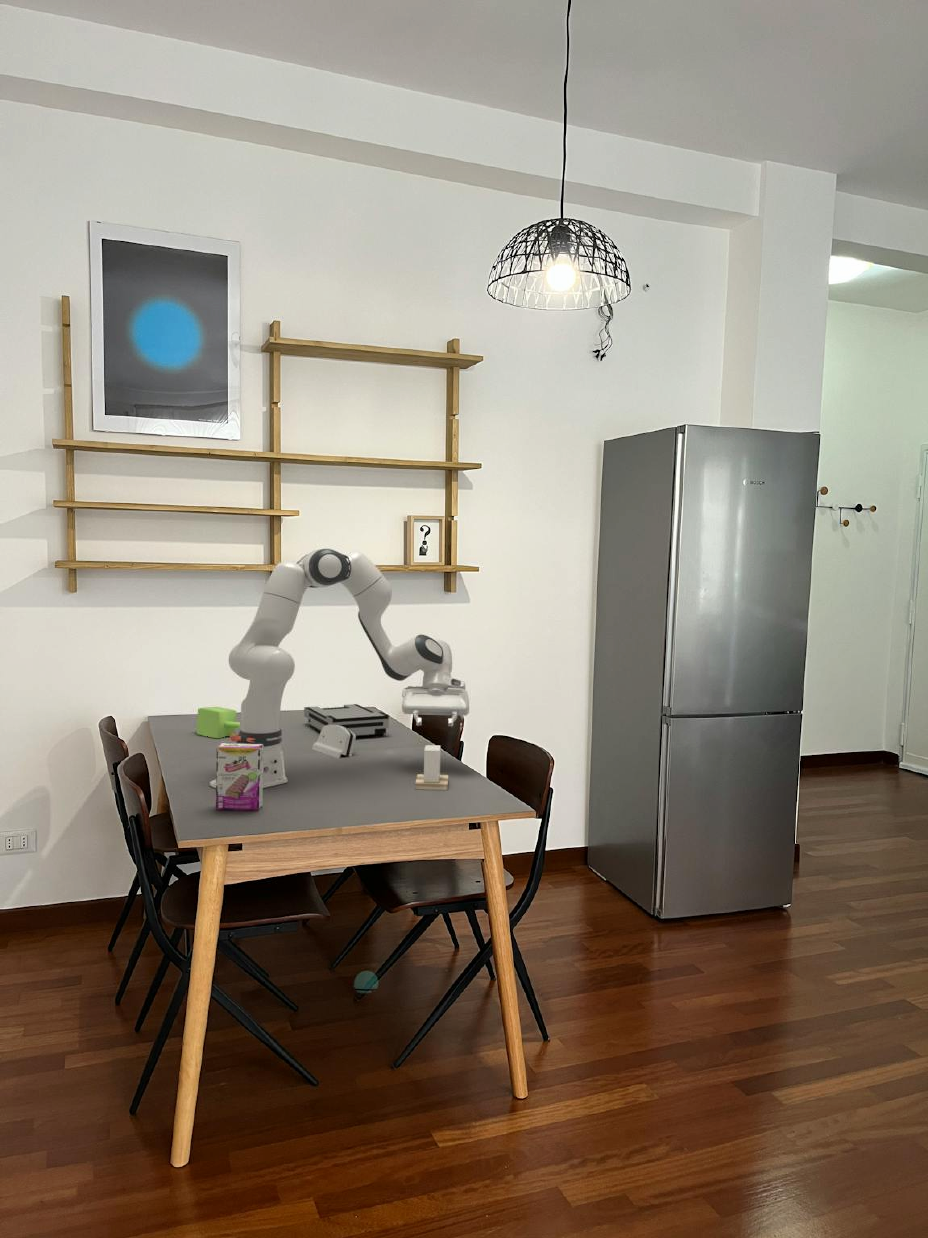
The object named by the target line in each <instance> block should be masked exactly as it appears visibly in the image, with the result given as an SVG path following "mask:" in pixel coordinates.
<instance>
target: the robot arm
mask: <svg viewBox="0 0 928 1238" xmlns="http://www.w3.org/2000/svg"><path fill="white" fill-rule="evenodd" d="M338 583H340V584H341V585H343V586H344V587H345V588H346V589H347V590H348V592H349V594H351V596H352V597H353V598H354V601H356V604H357V606H358V613H357V617H358V621H359V623H360V625H361V627H362V629H363V631H364V633H365V635H366V637H367V638H368V640H369V641H370V643H371V646H372V648H373V649H374V650H375V651H374V652H375V653H376V655H377V656H378V659H380V663H381V666H382V669H383V671H384V672H385V674H386V675H387V676H388V678H389V677H390V678H391V679H393V680H394V681H400V682H402V681H405V680H406V679H408V678H409V677H411V676H412V675H413V674H415V673H417V672H419V671H422V672H423V677H422V686H420V685H419V686H413V685H412V686H411V685H409V686H407V687H405V688H403V689H402V691H401V692H402V693H401V696H402V698H403V699H402V704H401V712H403V714H404V715H413V718H414V720H415V722H416V725H415V726H422V722H423V721H422V717H419V715H427V716H428V715H430V716H433V715H434V716H435V715H436V716H451V718H448V720H447V721H448V723H447V726H448V727H454V722H456V720H457V719H458V716H463V717H465V716H468V714H469V713H470V700H469V695H468V691H467V690H466V688H467V687H466V683H465V681H464V680H462V679H461V680H460V679H457V678H454V677H452V675H451V673H452V670H453V655H452V650H451V648H450V647H451V646H450V645H449V644H448V643H447V642H446V641H444V640H443V639H442V640H441V639H434V638H432V637H430V636H428V635H426V634H418V635H416V636H413V637H412V638H410V639H409V640H406V642H405V641H404V643H402V644H399V645H398V646H394V645H393V644H392V642H391V640H390V638H389V637H388V635H387V633H386V631H385V630H384V628H383V626H382V616H383V614H384V613H385V611H386V609H388V607H389V605H390V604H391V600H392V597H393V591H392V587H391V584H390V583H389V581H388V580H387V579H386V577H385V575H384V574H383V573H382V572H381V571H380V569H379V568H378V567H377V566H376V564H374V562H373V561H372V560H371V559H369V558H368V557H367V555H365V554H364V553H363V552H360V551H356V550H355V551H352V552H351V551H350V552H348V553H346V554H343V553H341V552H339V551H336V550H334V549H332V548H331V549H330V548H322V549H316V550H315V549H314V550H313V551H310V552H309V553H308V554H305V555H304V556H303V557H302V558H300V560H298V561H297V562H293V561H281V562H278V563H277V564H276V566H275V567H274V568H273V570H272V571H271V574H270V576H269V578H268V580H267V582H266V585H265V587H264V590H263V592H262V596H261V599H260V602H259V605H258V606H257V607H258V608H257V611H256V613H255V616H254V618H253V621H252V623H251V625H250V626H249V628H248V629H247V631H246V633H245V634H244V636H243V637H242V639H241V640H240V642H238V644H236V645H235V646H234V647H232V649H231V651H230V652H229V655H228V665H229V668H230V669H231V670H232V672H234V674H236V675H238V676H239V677H240V678H241V679H245V680H248V681H249V686H248V690H247V694H246V697H244V699H243V700H242V701H241V703H240V704H241V705H240V730H239V732H238V734H236V733H235V734H232V735H231V736H229V739H230V741H231V742H235V744H263V789H264V788H265V789H266V788H269V787H274V786H278V785H282V784H287V783H288V781H289V780H288V778H287V776H286V771H285V761H284V759H285V758H284V752H283V750H282V745H281V743H282V741H283V740H282V739H283V733H282V729H281V705H282V699H283V696H284V695H283V694H284V691H285V688H286V685H287V684H288V682H289V681H290V680H291V679H292V677H293V675H294V672H295V668H296V666H295V661H294V658H293V656H292V655H291V654H290V653H288V652H287V651H286V650H285V649H283V648H281V647H279V646H280V644H281V642H282V641H283V640H284V638H285V637H286V636H287V635H289V634H290V633H291V632H292V630H293V628H294V626H295V623H296V622H295V621H296V620H297V616H298V613H299V610H300V607H301V603H302V601H303V597H304V594H305V592H306V591H307V589H308V588H310V589H311V588H315V589H316V588H326V587H327V588H328V587H330V586H333V585H336V584H338ZM209 786H210V787H212V788H214V789H216V779H213V780H211V781H209Z"/></svg>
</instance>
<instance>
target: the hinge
mask: <svg viewBox="0 0 928 1238" xmlns="http://www.w3.org/2000/svg"><path fill="white" fill-rule="evenodd" d="M356 738H357V735H355V734H354V733H353V732H352V731H350V730H349V729H347V728H345V727H343V726H339V725H326V726H323V728H322V730H321V733H320V734H319V735H318V738H317V741H316V742H314V743H313V744H312V747H311V750H313V751H316V752H318V753H322V754H325V755H327V756H330V757H334V758H335V759H336V758H337V759H340V758H341V756H342V755H344V756H348V757H352V756H353V752H354V747H355V742H356Z"/></svg>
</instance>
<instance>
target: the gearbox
mask: <svg viewBox="0 0 928 1238" xmlns="http://www.w3.org/2000/svg"><path fill="white" fill-rule="evenodd" d="M196 722H197V723H196V734H197V735H200V736H204V737H207V736H208V737H207V738H212V739H213V738H214V739H223V738H222V737H224V738H226V737H225V736H229V737H230V736H231V735H232V734H235V735H236V731H237V730H236V729H241V721H237V710H235V709H230V708H225V707H220V706H213V707H212V706H211V707H208V706H207V707H201V708H197V720H196Z"/></svg>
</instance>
